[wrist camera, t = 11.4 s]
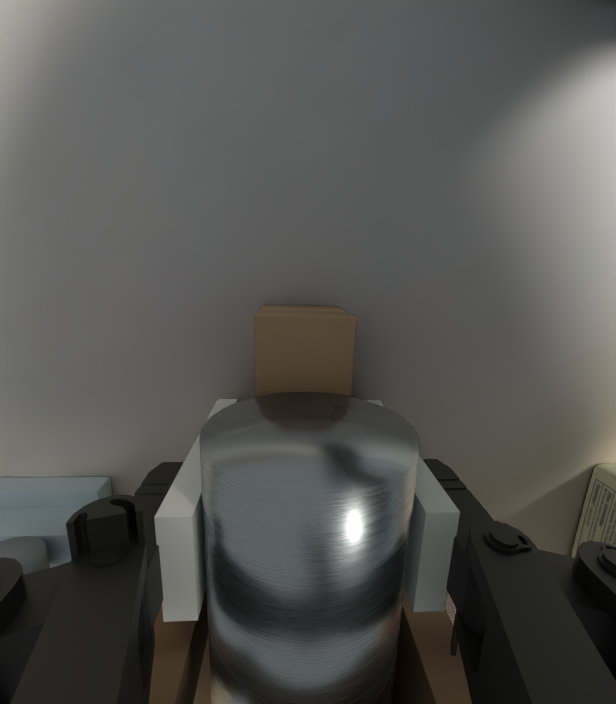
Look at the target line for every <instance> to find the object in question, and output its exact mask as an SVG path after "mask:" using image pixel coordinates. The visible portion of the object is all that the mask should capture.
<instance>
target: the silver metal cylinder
mask: <svg viewBox="0 0 616 704" xmlns="http://www.w3.org/2000/svg"><path fill="white" fill-rule="evenodd" d="M199 445H200V466H201V488H202V510H203V532H204V553H205V575H206V597H207V618H208V640H209V662H210V683H211V704H392V695H393V686H394V677H395V667H396V658H397V649H398V640H399V631H400V622H401V613H402V604H403V594H404V585H405V576H406V567H407V558H408V549H409V540H410V531H411V521H412V512H413V503H414V494H415V485H416V476H417V467H418V458H419V448H420V443H419V438H418V435H417V433H416V431H415V430H414V429H413V427H412V426H411V425H410V424H409V423H408V422H407V421H406V420H405V419H403V418H402V417H401V416H399V415H398V414H396V413H394V412H393V411H391V410H389V409H387V408H385V407H383V406H380V405H377V404H375V403H372V402H369V401H366V400H362V399H358V398H355V397H350V396H345V395H339V394H331V393H321V392H284V393H275V394H268V395H262V396H257V397H253V398H249V399H245V400H242V401H239V402H237V403H234V404H232V405H229V406H227V407H225V408H223V409H222V410H220V411H218V412H217V413H215V414H214V415H213V416H211V417H210V418H209V419H208V420H207V421H206V423H205V424H204V426H203V427H202V430H201V432H200V438H199Z"/></svg>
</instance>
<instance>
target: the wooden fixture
mask: <svg viewBox="0 0 616 704" xmlns="http://www.w3.org/2000/svg"><path fill="white" fill-rule="evenodd" d="M355 331H356V318H355V317H354V316H352V315H351V314H349V313H348V312H347V311H345V310H344V309H342V308H341V307H339V306H305V305H265V304H263V305H262V306H261V307H260V309H259V310H258V312H257V313H256V315H255V397H257V396H262V395H268V394H275V393H284V392H321V393H331V394H339V395H345V396H350V397H351V393H352V377H353V362H354V346H355ZM452 632H453V625H452V623H451V621H450V618H449V616H448V614H447V612H446V610H444V611H427V612H413V610H412V607H411V605H410V602H409V599H408V597H407V594H406V591H405V588H404V594H403V604H402V613H401V622H400V631H399V640H398V649H397V658H396V667H395V677H394V686H393V695H392V704H472V702H471V697H470V693H469V689H468V684H467V680H466V675H465V671H464V667H463V662H462V658H461V653H460V649H459V645H458V646H457V651H456V656H453V655H450V644H451V638H452ZM154 635H155V649H154V658H153V667H152V677H151V686H150V695H149V704H211V683H210V662H209V640H208V618H207V597H206V591H205V595H204V599H203V602H202V606H201V610H200V614H199V618H198V620H195V621H170V622H164V621H163V610H162V604H161V607H160V610H159V612H158V615H157V618H156V620H155V623H154Z"/></svg>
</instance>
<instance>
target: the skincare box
mask: <svg viewBox="0 0 616 704" xmlns="http://www.w3.org/2000/svg"><path fill="white" fill-rule="evenodd" d="M587 541H596V542H604V543H607V544H611V545H614V546H616V464H599V465H597V466H596V467H595V468H594V470H593V474H592V478H591V481H590V484H589V488H588V491H587V495H586V498H585V502H584V507H583V510H582V514H581V518H580V522H579V526H578V530H577V534H576V537H575V542H574V546H573V550H572V555H571V557H573V558H575V557H576V553H577V549H578V547H579V546H580V544H581V543H583V542H587Z"/></svg>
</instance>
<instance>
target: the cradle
mask: <svg viewBox="0 0 616 704" xmlns="http://www.w3.org/2000/svg"><path fill="white" fill-rule="evenodd" d="M109 496H112V489H111V481H110V477H19V478H0V558H2V557H6V558H13V559H16V560H17V561H18V562H19V563H21V564H22V568H23V573H24V575H25V574H28V573H32V572H36V571H40V570H44V569H47V568H51V567H55V566H58V565H61V564H64V563H67V562H70V561H71V553H70V547H69V541H68V534H67V528H66V522H67V521H68V520H69V519H70V517H71V516H72V515H73V514H74V513H75V512H77V511H78V510H79V509H81V508H82V507H83V506H85V505H87V504H89V503H91V502H94V501H96V500H98V499H101V498H105V497H109Z"/></svg>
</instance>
